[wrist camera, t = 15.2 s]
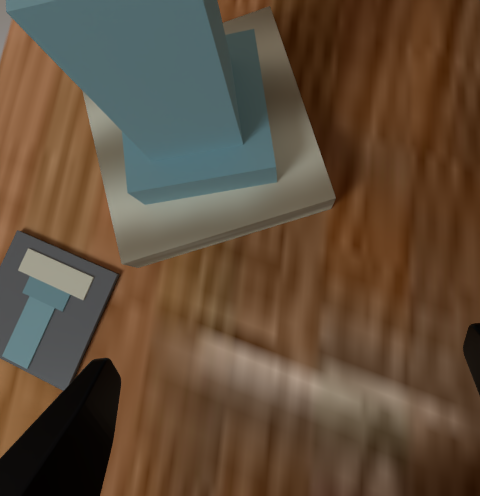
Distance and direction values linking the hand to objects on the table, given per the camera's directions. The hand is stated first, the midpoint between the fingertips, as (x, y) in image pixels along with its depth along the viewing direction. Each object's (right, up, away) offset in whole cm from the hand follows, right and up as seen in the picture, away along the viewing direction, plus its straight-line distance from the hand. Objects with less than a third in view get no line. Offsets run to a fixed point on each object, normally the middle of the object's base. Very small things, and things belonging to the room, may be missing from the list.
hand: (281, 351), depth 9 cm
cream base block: (-3, +9, +16) cm, 19 cm away
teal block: (-3, +10, +13) cm, 17 cm away
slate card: (-14, -1, +15) cm, 21 cm away
